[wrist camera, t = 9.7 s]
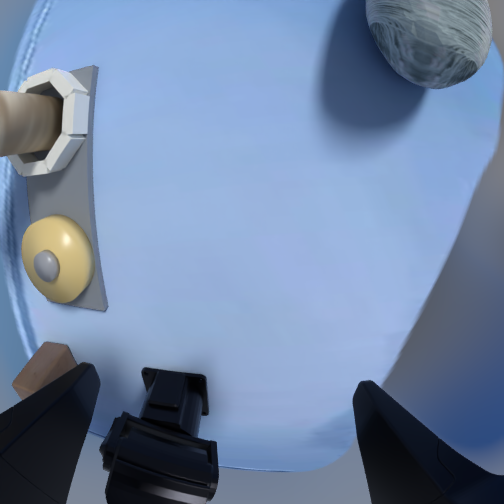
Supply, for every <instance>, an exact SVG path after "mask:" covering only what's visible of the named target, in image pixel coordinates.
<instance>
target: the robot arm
mask: <svg viewBox="0 0 504 504" xmlns="http://www.w3.org/2000/svg"><path fill="white" fill-rule="evenodd" d="M142 376H143V380H144V384H145V387H146V391H147V395H146V398H145V401H144V404H143V407H142V409H141V412H140V415H139V418H137V417H134V416H132V415H129V413H127V412H124V411H123V413H122V415H121V417H118V418H115V419H114V422H113V424H112V427H111V429H110V431H109V433H108V434H107V436H106V438H105V439H104V441H103V442H102V444H101V446H100V449H99V451H100V453H101V455H102V456H103V462H104V463H103V470H105V471H108V472H110V473H109V477H108V481H107V485H106V489H105V494H106V500H107V503H108V504H206V502H207V501H211V499H212V498H213V497H214V494H215V492H216V489H217V485H218V478H219V468H218V455H217V442H216V441H212V440H210V441H208V440H204V439H200V438H198V432H199V425H200V419H201V415H203V416H207V415H208V414H209V405H208V393H207V379H206V377H205V376H204V375H201V374H191V373H182V372H173V371H166V370H159V369H152V368H143V370H142ZM201 379H202V380H201ZM99 388H100V379H99V376H98V374H97V371H96V369H95V366H94V365H93V364H90V363H86V362H82V363H80V364H79V365H77V366H76V367H74V368H72V369H71V370H69V371H68V372H66V373H65V374H63V375H61V376H60V377H58V378H57V379H55V380H54V381H52V382H50V383H49V384H47V385H46V386H44V387H42V388H41V389H39V390H38V391H36V392H35V393H33V394H31V395H30V396H28V397H27V398H25V399H24V400H22V401H21V402H19V403H17V404H16V405H14V407H11V408H9V409H8V410H6V411H4V412H3V413H1V414H0V504H66V501H67V497H68V493H69V490H70V486H71V482H72V479H73V475H74V472H75V469H76V465H77V462H78V459H79V456H80V452H81V449H82V446H83V443H84V440H85V437H86V434H87V432H88V429H89V426H90V423H91V420H92V416H93V412H94V408H95V404H96V400H97V396H98V392H99ZM353 409H354V416H355V424H356V433H357V439H358V444H359V448H360V452H361V456H362V461H363V465H364V469H365V474H366V478H367V483H368V487H369V492H370V497H371V502H372V504H504V475H496V474H492V473H490V472H488V471H485V470H484V469H483V468H481V467H479V466H478V465H476V464H475V463H473V462H471V461H470V460H468V459H467V458H465V457H464V456H462V455H461V454H459V453H458V452H456V451H455V450H454V449H452V448H451V447H450V446H449V445H447V444H446V443H445V442H444V441H442V440H441V439H439V438H438V436H436V435H435V434H434V433H433V432H432V431H430V430H429V429H428V428H427V427H426V426H425V425H423V424H422V423H421V422H420V421H419V420H417V419H416V418H415V417H414V416H413V415H411V414H410V413H409V412H408V411H407V410H406V409H404V408H403V407H402V406H401V405H400V404H399V403H398V402H396V401H395V400H394V399H393V398H392V397H391V396H389V395H388V394H387V393H386V392H385V391H384V390H383V389H381V388H380V387H379V386H378V385H377V384H376V383H374V382H373V381H371V380H367V381H361V382H360V383H359V384H358V387H357V389H356V391H355V393H354V396H353Z"/></svg>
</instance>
